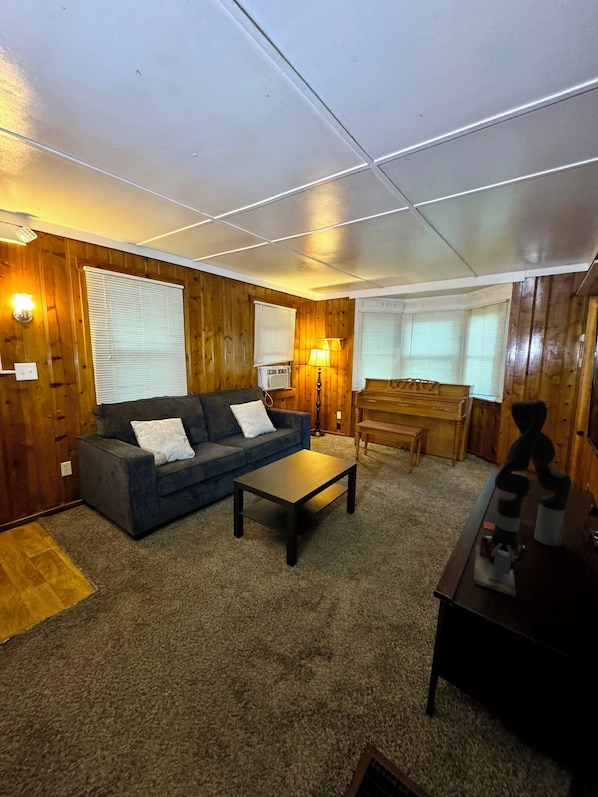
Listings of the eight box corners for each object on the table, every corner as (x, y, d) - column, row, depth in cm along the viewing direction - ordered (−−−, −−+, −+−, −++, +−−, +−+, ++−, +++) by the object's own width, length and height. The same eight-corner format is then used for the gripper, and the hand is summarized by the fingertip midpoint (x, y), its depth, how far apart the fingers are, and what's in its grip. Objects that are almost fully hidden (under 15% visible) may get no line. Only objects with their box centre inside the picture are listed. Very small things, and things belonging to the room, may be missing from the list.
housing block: (508, 565, 123) (510, 551, 122) (509, 575, 118) (511, 560, 117) (493, 561, 126) (495, 547, 125) (493, 570, 120) (495, 555, 119)
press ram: (497, 540, 135) (499, 525, 133) (497, 547, 130) (499, 531, 129) (482, 536, 137) (483, 521, 136) (481, 543, 133) (483, 527, 131)
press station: (511, 557, 135) (514, 535, 133) (515, 596, 113) (519, 571, 112) (475, 547, 141) (478, 526, 140) (473, 582, 120) (476, 558, 118)
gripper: (529, 525, 119) (523, 567, 121) (484, 515, 126) (479, 554, 128) (531, 535, 112) (524, 579, 115) (484, 523, 119) (479, 565, 122)
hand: (501, 565), depth 122 cm, fingers closed on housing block, 5 cm apart
